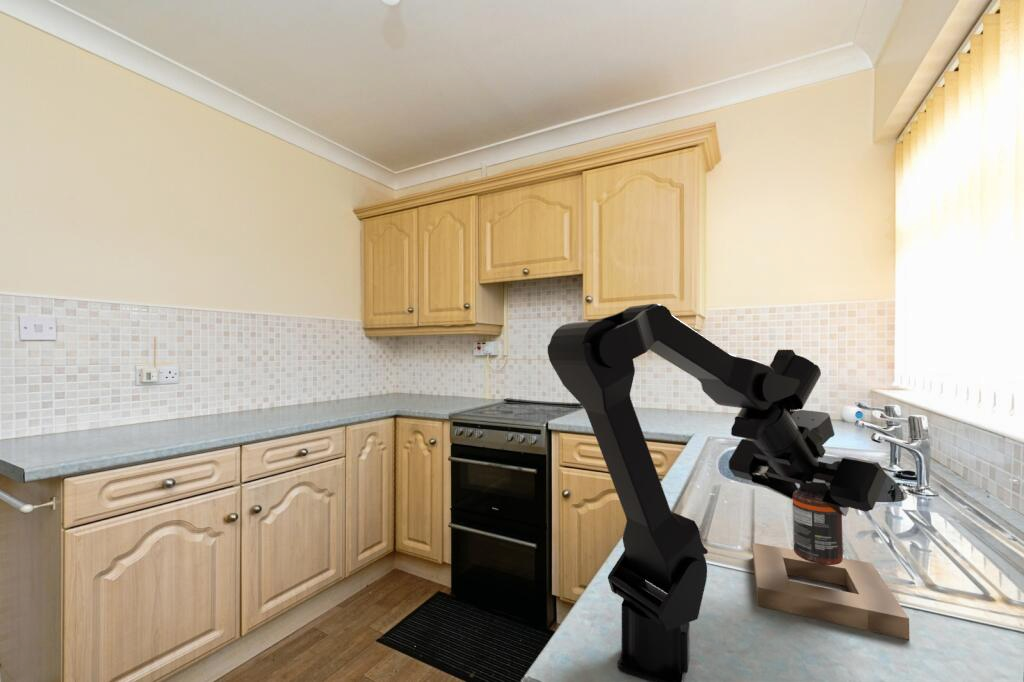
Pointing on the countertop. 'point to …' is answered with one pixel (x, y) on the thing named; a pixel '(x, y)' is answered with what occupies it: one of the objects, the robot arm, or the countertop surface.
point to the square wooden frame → (828, 591)
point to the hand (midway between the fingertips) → (821, 506)
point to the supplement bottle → (816, 525)
